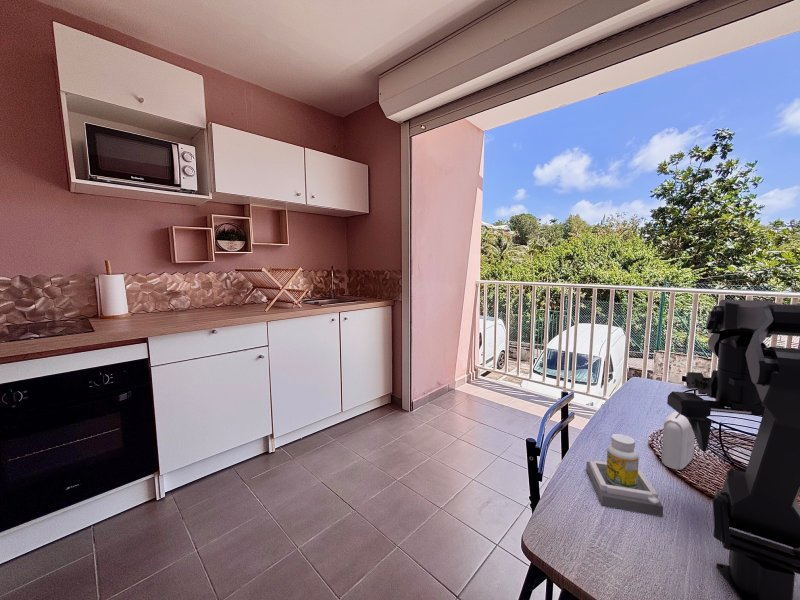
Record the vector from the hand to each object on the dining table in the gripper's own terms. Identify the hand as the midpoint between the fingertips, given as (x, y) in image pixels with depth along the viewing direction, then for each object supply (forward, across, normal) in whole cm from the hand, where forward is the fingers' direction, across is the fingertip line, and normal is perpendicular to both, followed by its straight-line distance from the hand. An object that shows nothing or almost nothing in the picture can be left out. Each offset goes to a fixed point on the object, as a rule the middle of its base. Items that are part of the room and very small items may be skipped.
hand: (734, 454), depth 57 cm
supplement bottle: (+11, +16, -4) cm, 20 cm away
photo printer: (+13, -1, -20) cm, 24 cm away
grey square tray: (+13, +16, -4) cm, 21 cm away
